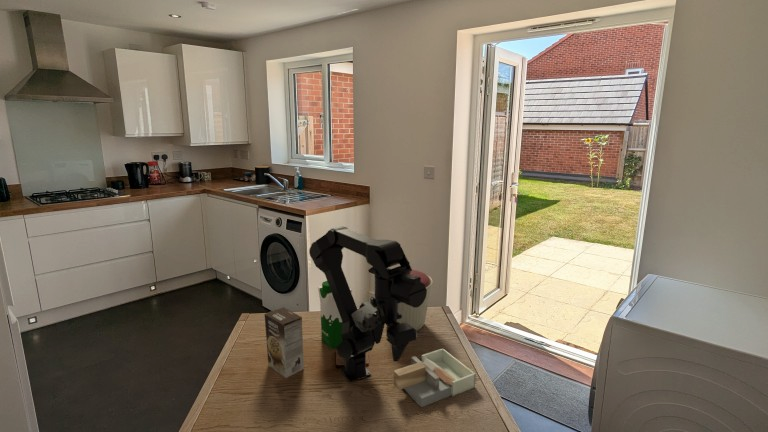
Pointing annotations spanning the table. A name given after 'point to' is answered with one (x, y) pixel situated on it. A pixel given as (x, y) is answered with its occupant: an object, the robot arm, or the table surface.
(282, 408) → the table surface
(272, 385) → the table surface
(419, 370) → the scraper
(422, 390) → the grey stepped riser
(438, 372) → the tile terracotta
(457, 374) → the tray
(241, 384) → the table surface
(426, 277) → the canister
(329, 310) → the milk carton
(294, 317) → the coffee box
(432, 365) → the tile cream
